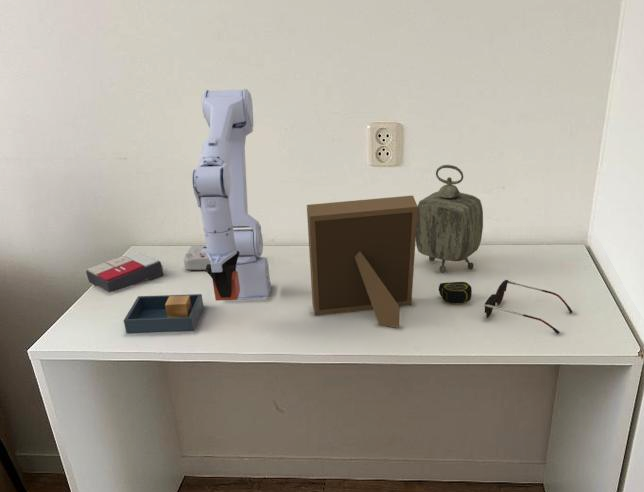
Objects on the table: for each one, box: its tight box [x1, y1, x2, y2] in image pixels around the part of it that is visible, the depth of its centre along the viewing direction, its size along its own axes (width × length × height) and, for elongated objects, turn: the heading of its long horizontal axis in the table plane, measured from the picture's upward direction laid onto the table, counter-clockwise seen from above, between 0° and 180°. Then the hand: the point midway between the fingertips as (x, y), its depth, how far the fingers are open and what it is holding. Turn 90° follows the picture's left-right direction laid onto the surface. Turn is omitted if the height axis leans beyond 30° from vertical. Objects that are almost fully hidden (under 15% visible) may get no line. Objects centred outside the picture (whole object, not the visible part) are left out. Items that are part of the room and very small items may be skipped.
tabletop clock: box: [415, 164, 484, 273], centre depth 174 cm, size 14×9×25 cm, turn 58°
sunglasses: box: [484, 279, 573, 335], centre depth 156 cm, size 14×16×5 cm
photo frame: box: [306, 195, 418, 328], centre depth 153 cm, size 15×22×25 cm
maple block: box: [165, 294, 192, 318], centre depth 160 cm, size 4×4×4 cm
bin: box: [123, 293, 204, 334], centre depth 161 cm, size 14×12×4 cm
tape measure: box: [438, 281, 473, 305], centre depth 164 cm, size 7×7×4 cm
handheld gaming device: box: [183, 245, 211, 271], centre depth 187 cm, size 9×15×4 cm, turn 85°
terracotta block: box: [212, 271, 240, 302], centre depth 152 cm, size 4×4×4 cm
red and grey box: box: [85, 250, 165, 293], centre depth 182 cm, size 11×4×15 cm
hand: (227, 291), depth 153 cm, fingers closed on terracotta block, 4 cm apart
